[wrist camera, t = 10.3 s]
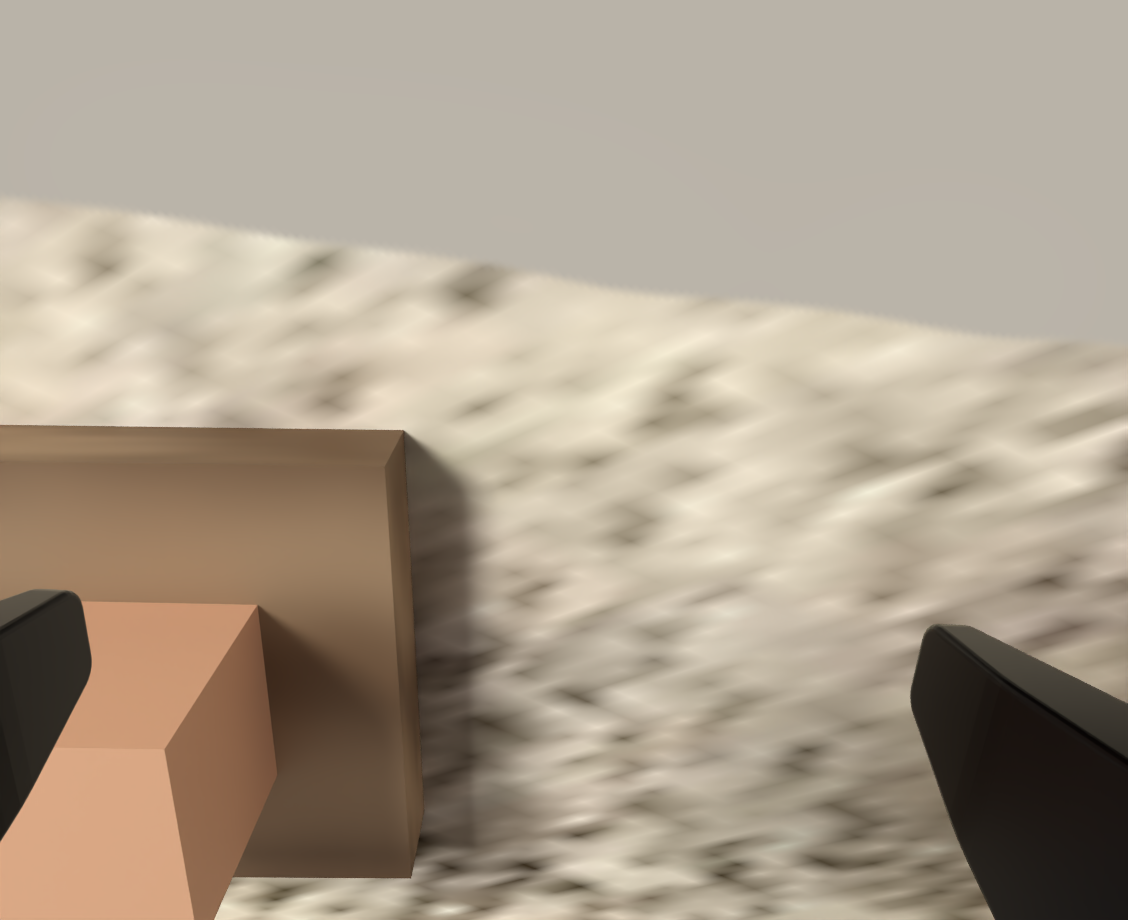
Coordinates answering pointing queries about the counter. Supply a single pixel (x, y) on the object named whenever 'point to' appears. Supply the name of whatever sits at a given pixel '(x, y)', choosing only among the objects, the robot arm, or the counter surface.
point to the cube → (148, 771)
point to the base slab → (256, 600)
